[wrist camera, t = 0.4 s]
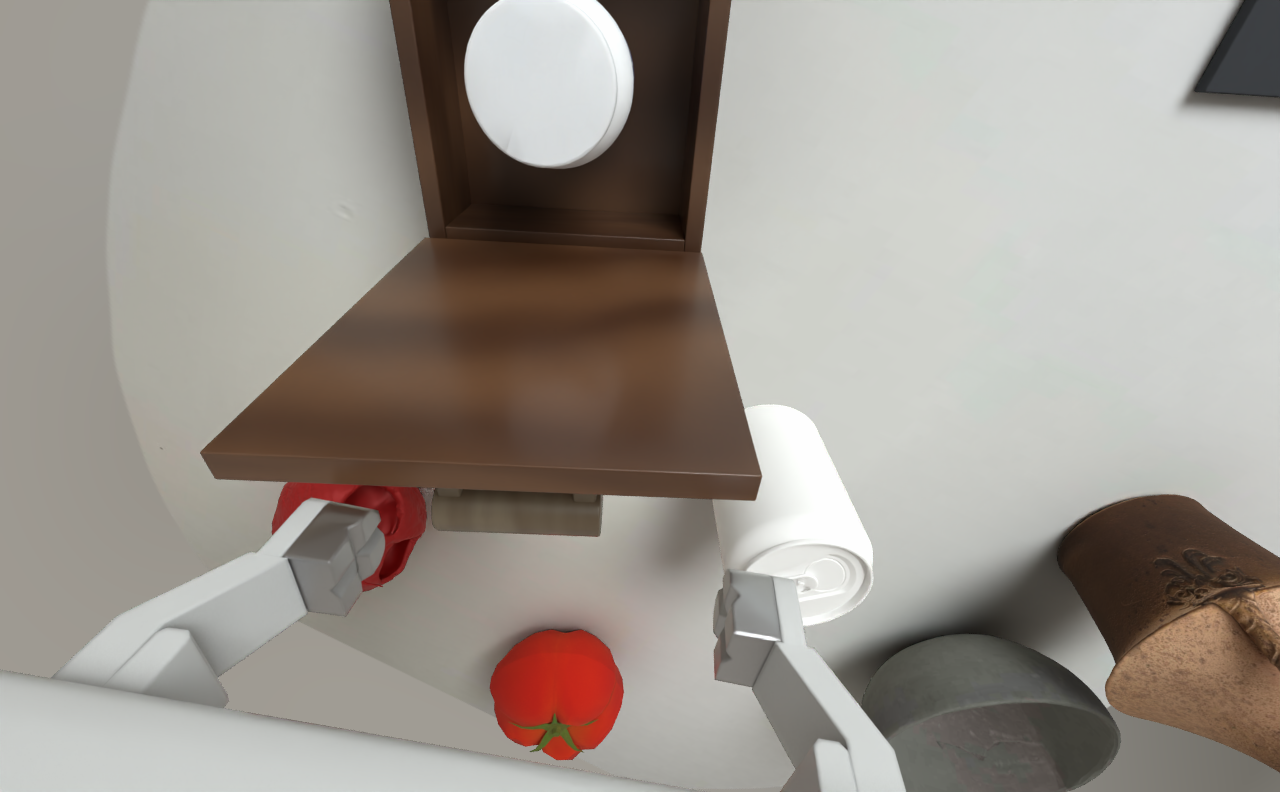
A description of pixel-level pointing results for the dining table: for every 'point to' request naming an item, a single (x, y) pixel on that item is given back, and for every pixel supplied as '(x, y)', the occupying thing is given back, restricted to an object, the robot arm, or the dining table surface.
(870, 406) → the dining table surface
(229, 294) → the dining table surface
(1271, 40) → the mat
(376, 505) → the red crowned fruit
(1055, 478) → the dining table surface
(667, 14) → the chest
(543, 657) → the tomato
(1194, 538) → the pitcher
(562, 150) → the pill bottle
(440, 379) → the chest lid
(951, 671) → the bowl
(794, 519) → the beverage can
